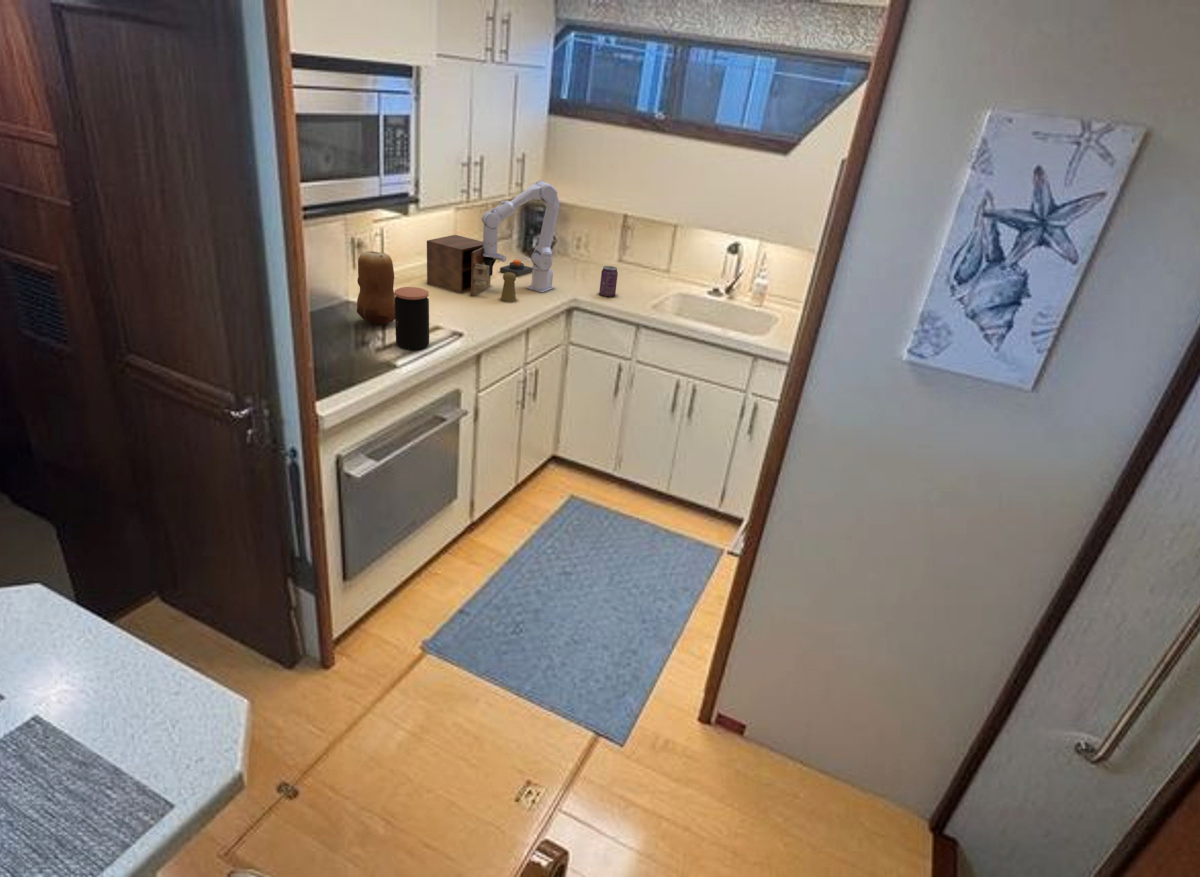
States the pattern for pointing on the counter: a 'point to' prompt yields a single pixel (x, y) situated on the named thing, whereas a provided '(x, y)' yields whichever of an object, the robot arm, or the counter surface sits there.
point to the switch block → (516, 269)
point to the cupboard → (451, 262)
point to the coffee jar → (412, 318)
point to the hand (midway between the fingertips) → (489, 275)
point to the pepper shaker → (509, 287)
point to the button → (516, 262)
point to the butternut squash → (376, 288)
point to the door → (479, 272)
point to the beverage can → (608, 281)
